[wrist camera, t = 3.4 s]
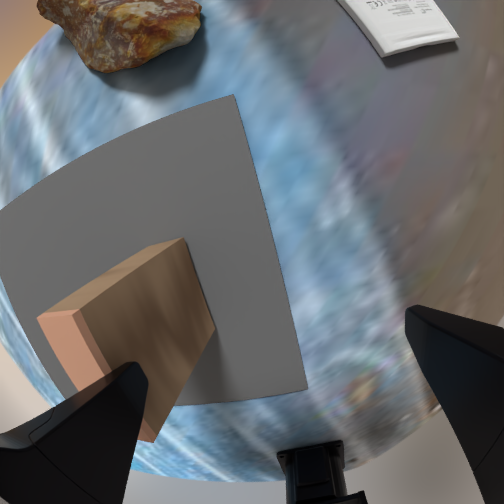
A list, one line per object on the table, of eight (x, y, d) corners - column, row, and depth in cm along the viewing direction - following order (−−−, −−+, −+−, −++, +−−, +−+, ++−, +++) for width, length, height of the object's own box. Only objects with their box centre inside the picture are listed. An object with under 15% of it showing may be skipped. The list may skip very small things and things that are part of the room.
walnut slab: (215, 328, 17) (153, 442, 8) (181, 331, 17) (110, 432, 9) (183, 236, 15) (71, 314, 7) (148, 246, 16) (36, 317, 7)
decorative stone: (98, -71, 5) (249, -22, 9) (115, -47, 9) (246, 12, 13) (9, 19, 7) (120, 97, 11) (38, 32, 11) (146, 109, 15)
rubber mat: (307, 385, 19) (307, 388, 18) (67, 398, 22) (66, 400, 21) (234, 96, 14) (233, 94, 13) (-13, 222, 16) (-16, 223, 16)
